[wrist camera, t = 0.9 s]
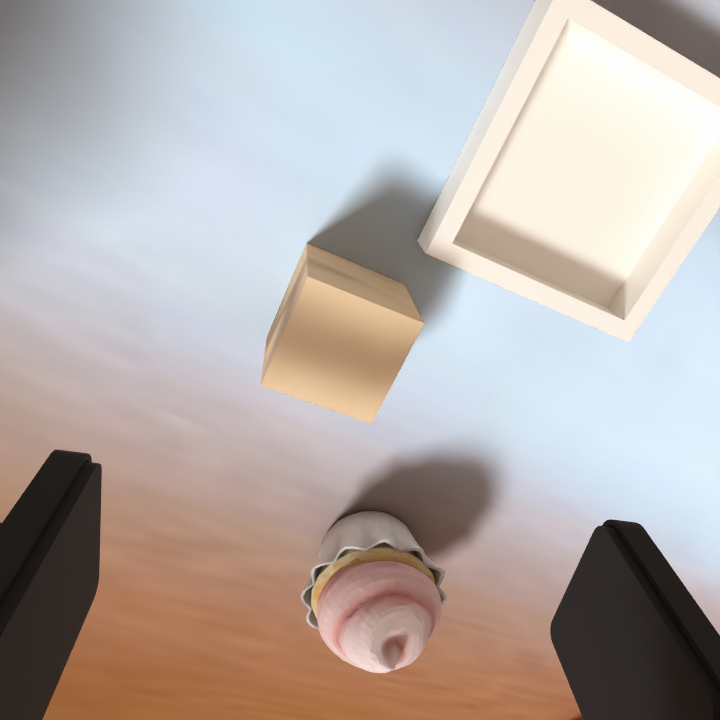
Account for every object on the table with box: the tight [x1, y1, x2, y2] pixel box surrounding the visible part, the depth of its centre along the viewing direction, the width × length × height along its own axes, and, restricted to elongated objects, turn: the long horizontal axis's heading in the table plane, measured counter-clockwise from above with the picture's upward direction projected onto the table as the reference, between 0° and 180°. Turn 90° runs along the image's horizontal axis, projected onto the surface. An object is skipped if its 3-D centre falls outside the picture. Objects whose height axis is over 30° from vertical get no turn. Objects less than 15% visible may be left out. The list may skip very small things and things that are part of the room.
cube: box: [261, 243, 424, 424], centre depth 32 cm, size 6×6×6 cm
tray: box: [417, 0, 720, 342], centre depth 31 cm, size 13×13×3 cm
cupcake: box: [300, 511, 448, 673], centre depth 38 cm, size 9×9×10 cm
